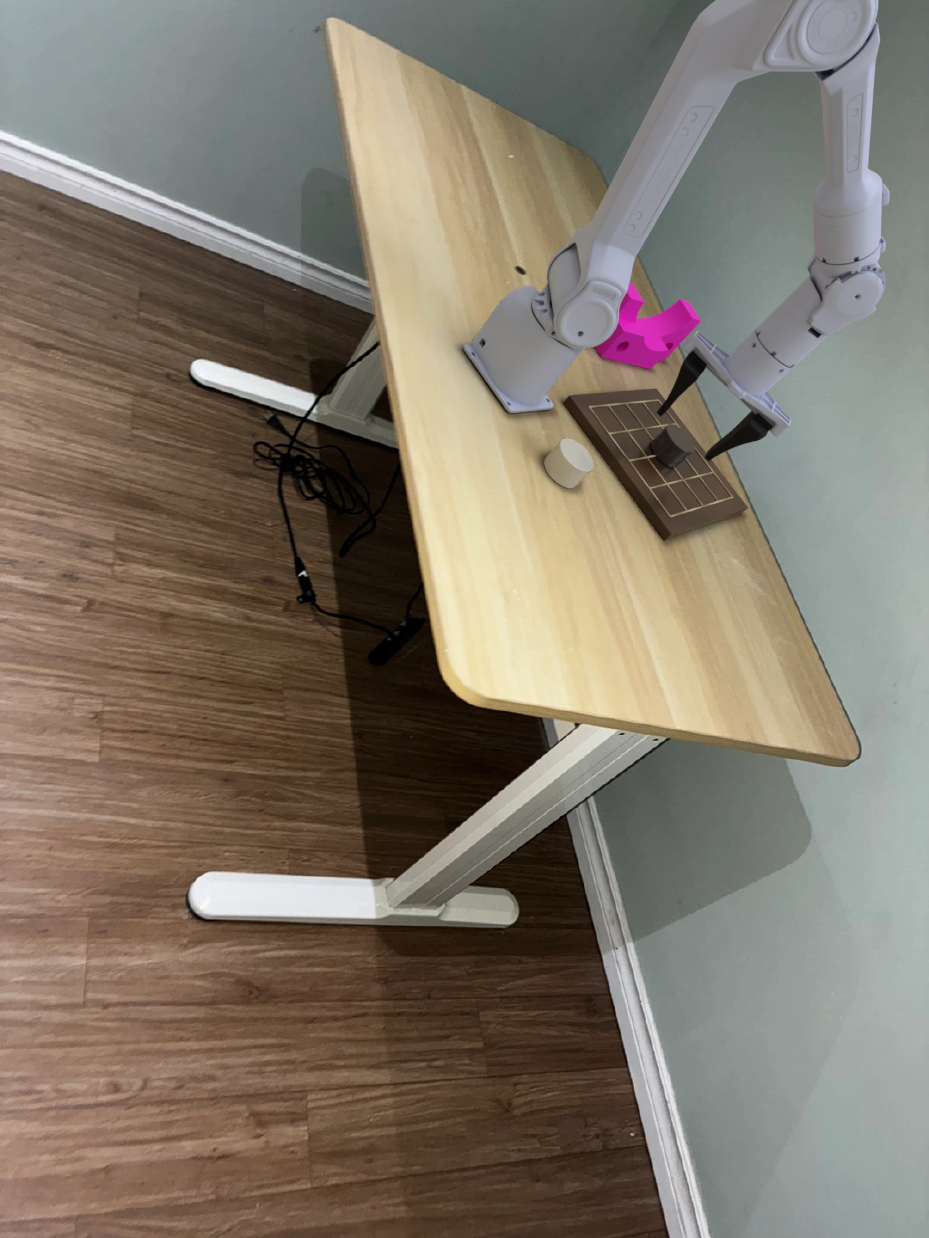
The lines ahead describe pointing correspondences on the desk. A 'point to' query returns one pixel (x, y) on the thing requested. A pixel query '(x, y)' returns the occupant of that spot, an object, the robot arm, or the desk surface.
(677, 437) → the black stone
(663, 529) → the board
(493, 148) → the desk surface
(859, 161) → the robot arm
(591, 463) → the white stone
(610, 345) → the toy block
